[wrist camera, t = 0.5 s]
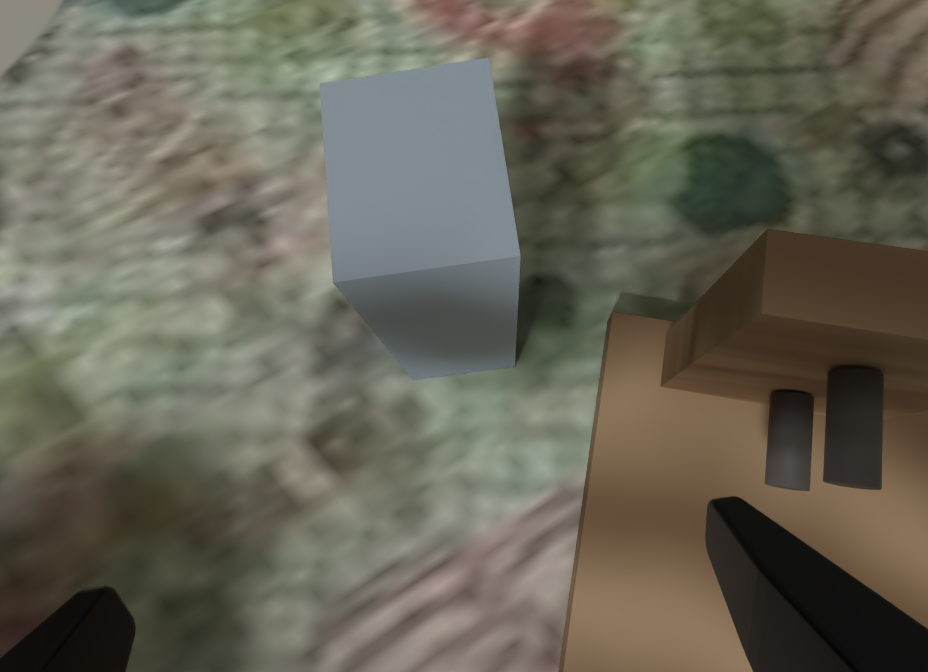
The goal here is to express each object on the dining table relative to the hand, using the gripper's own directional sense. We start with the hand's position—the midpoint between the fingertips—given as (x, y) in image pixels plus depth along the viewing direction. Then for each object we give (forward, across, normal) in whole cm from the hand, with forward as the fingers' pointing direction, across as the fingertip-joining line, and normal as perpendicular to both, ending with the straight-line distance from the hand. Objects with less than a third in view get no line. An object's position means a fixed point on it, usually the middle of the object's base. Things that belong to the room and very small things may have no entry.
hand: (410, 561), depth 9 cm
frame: (+7, -9, +12) cm, 16 cm away
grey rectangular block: (+15, -1, +3) cm, 15 cm away
